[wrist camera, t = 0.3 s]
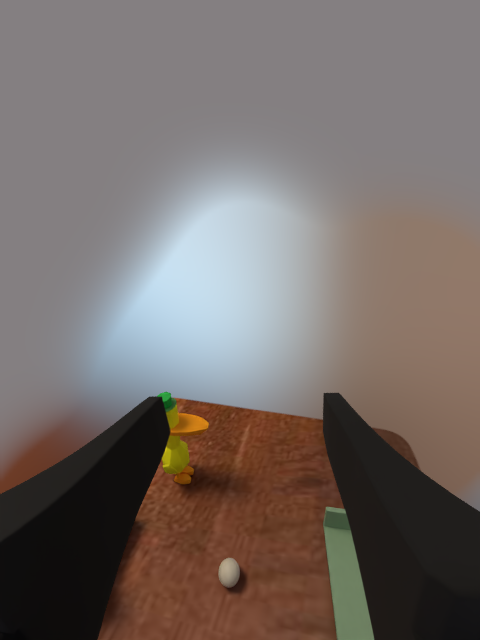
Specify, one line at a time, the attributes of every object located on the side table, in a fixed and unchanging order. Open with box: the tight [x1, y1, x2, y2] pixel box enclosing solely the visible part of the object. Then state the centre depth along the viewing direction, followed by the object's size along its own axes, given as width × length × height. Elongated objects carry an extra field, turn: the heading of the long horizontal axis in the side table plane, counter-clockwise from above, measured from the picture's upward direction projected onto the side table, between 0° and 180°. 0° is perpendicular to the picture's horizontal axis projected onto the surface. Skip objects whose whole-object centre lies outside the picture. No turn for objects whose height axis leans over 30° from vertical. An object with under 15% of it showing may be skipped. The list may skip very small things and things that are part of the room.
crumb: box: [219, 558, 240, 588], centre depth 22 cm, size 2×2×2 cm
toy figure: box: [157, 392, 209, 484], centre depth 28 cm, size 7×4×12 cm, turn 84°
